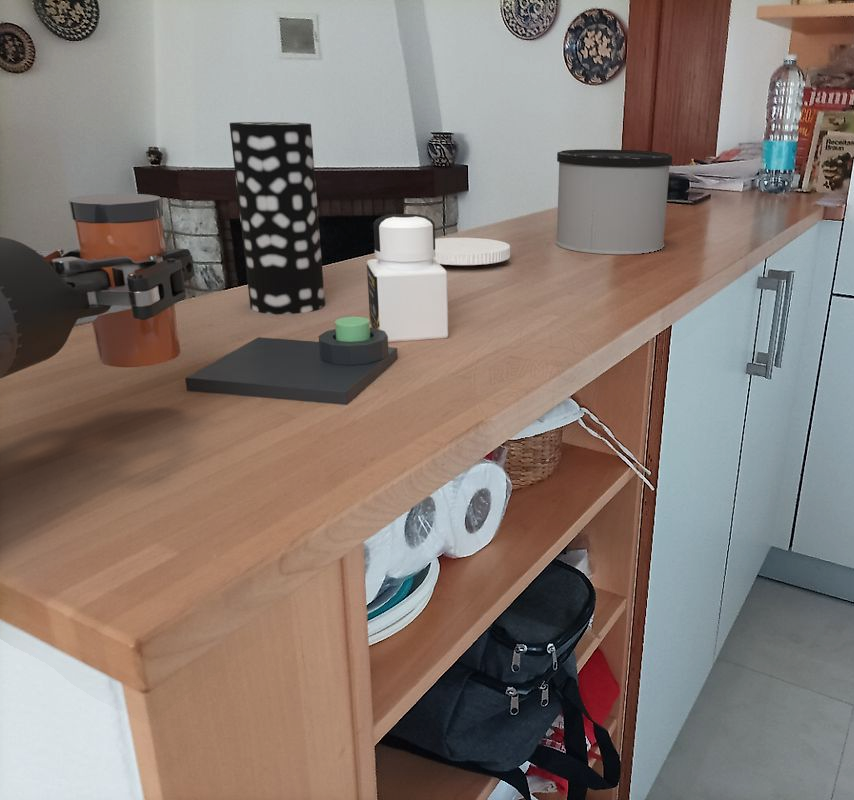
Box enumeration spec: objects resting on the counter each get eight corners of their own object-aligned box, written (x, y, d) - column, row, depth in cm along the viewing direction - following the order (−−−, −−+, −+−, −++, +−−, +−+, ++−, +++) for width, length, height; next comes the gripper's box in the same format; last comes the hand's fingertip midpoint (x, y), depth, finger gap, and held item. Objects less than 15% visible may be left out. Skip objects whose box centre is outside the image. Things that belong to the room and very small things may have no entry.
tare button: (330, 343, 69) (329, 324, 68) (344, 333, 72) (343, 315, 71) (363, 345, 68) (361, 326, 68) (375, 336, 71) (374, 317, 70)
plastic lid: (475, 276, 107) (475, 258, 107) (396, 264, 114) (395, 247, 113) (527, 260, 119) (527, 243, 118) (452, 250, 125) (451, 234, 124)
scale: (186, 391, 64) (181, 356, 63) (259, 348, 75) (256, 318, 74) (347, 405, 62) (344, 370, 61) (397, 359, 73) (396, 328, 72)
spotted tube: (338, 306, 91) (325, 124, 84) (273, 318, 85) (253, 125, 78) (301, 293, 96) (285, 122, 89) (237, 304, 91) (215, 122, 83)
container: (669, 239, 140) (676, 151, 135) (660, 258, 123) (668, 158, 118) (566, 233, 144) (569, 147, 139) (544, 250, 127) (546, 154, 121)
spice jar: (79, 364, 55) (47, 201, 51) (131, 341, 60) (106, 192, 56) (151, 371, 54) (125, 205, 50) (198, 347, 59) (177, 196, 55)
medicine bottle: (369, 325, 84) (363, 211, 79) (435, 320, 86) (432, 210, 82) (378, 344, 78) (372, 221, 73) (449, 339, 80) (446, 219, 75)
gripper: (55, 258, 39) (234, 213, 54) (-187, 241, 41) (52, 202, 57) (83, 398, 42) (246, 317, 57) (-146, 375, 44) (71, 303, 59)
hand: (148, 260), depth 57 cm, fingers closed on spice jar, 5 cm apart
